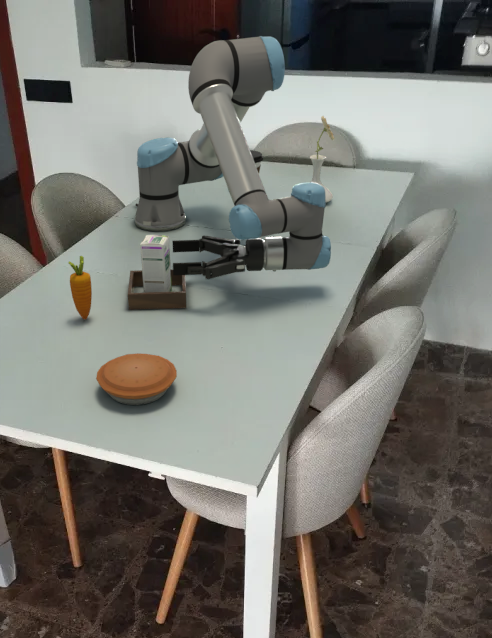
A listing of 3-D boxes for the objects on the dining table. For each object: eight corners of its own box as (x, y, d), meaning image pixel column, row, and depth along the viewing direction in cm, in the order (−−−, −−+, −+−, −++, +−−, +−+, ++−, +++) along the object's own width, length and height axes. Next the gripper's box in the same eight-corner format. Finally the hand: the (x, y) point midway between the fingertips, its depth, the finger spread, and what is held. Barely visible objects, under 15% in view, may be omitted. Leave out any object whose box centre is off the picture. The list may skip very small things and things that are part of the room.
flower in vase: (328, 209, 217) (337, 123, 202) (292, 205, 220) (298, 121, 206) (336, 196, 227) (344, 113, 212) (301, 193, 230) (307, 111, 216)
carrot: (78, 326, 159) (70, 264, 150) (71, 317, 163) (62, 256, 154) (99, 321, 161) (92, 259, 152) (91, 312, 165) (84, 251, 156)
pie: (94, 413, 131) (92, 390, 128) (101, 370, 143) (99, 348, 140) (177, 411, 131) (176, 388, 128) (176, 367, 143) (176, 346, 140)
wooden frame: (131, 285, 176) (130, 270, 174) (185, 283, 176) (185, 268, 174) (128, 310, 165) (127, 294, 163) (186, 308, 165) (185, 292, 163)
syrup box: (167, 302, 168) (164, 244, 159) (143, 300, 169) (139, 243, 160) (172, 292, 172) (170, 235, 164) (148, 290, 173) (145, 234, 165)
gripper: (268, 292, 157) (173, 295, 157) (256, 249, 177) (172, 252, 177) (270, 260, 152) (172, 263, 152) (258, 220, 172) (171, 223, 173)
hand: (172, 257), depth 165 cm, fingers open, 13 cm apart
